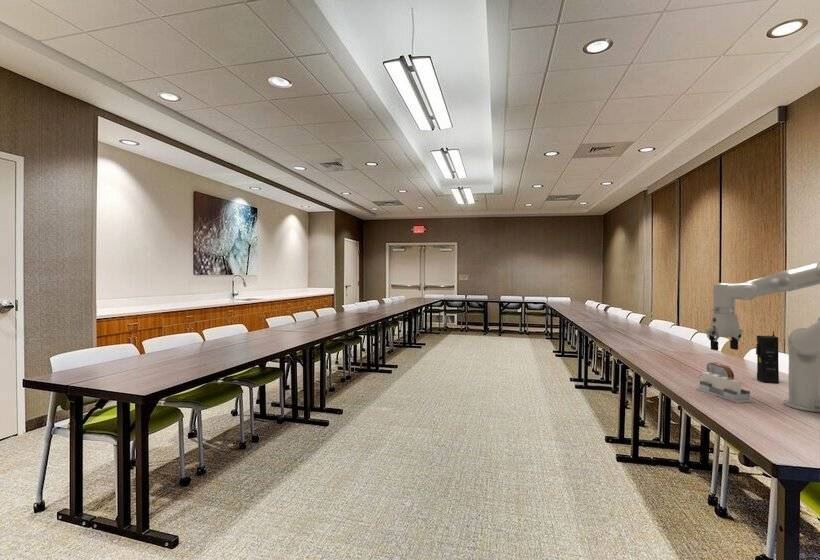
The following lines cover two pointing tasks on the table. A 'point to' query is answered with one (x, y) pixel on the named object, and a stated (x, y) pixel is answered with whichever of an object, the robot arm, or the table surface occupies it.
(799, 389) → the robot arm
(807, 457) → the table surface
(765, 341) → the portable radio
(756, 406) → the table surface
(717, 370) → the tin
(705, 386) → the cradle rack
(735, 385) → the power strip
